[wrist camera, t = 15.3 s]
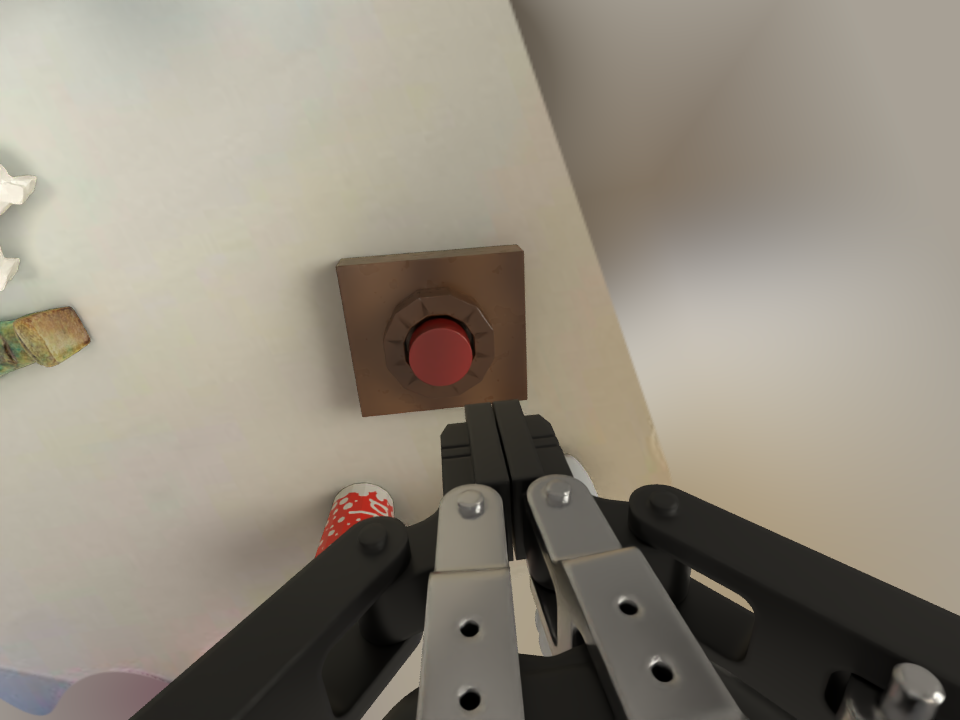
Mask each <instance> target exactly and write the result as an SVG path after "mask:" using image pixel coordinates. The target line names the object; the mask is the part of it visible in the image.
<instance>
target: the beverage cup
mask: <svg viewBox="0 0 960 720" xmlns="http://www.w3.org/2000/svg"><path fill="white" fill-rule="evenodd" d="M375 516H389V517H393V518H394V507H393V500H392V499H391V497H390V496H389V494H388V493H387V492H386V491H385V490H383V489H382V488H380V487H379V486H376V485H372V484H368V483H361V484H353V485H351V486H348V487H346V488H344V489H342V490H341V492H340V493H339V494H338V495H337V496H336V497H335V500H334V503H333V506H332V509H331V512H330V514H329V517H328V520H327V523H326V526H325V529H324V532H323V535H322V538H321V541H320V544H319V547H318V550H317V553H316V556H315V558H316V557H317V556H318V555H319V554H320V553H321V552H323V551H324V550H325V549H326V548H327V547H328V546H330V545H331V544H332V543H333V542H334V541H335V540H336V539H338V538H339V537H340V536H341V535H342V534H343V533H345V532H346V531H347V530H348V529H349V528H350V527H352V526H353V525H354V524H356V523H358V522H360V521H362V520H364V519H367V518H370V517H375Z"/></svg>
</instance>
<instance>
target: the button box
mask: <svg viewBox="0 0 960 720" xmlns="http://www.w3.org/2000/svg"><path fill="white" fill-rule="evenodd" d="M336 271H337V277H338V282H339V288H340V294H341V299H342V305H343V311H344V316H345V322H346V328H347V333H348V339H349V345H350V350H351V356H352V362H353V367H354V373H355V379H356V384H357V390H358V396H359V401H360V407H361V413H362V417H368V416H377V415H387V414H396V413H406V412H415V411H425V410H435V409H444V408H454V407H463V406H465V405H467V404H476V403H486V402H490V403H491V404H492V402H494V401H504V400H513V399H518V400H519V401H520V400H527V362H526V321H525V281H524V251H523V250H522V249H521V248H520V247H519V246H518V245H504V246H492V247H480V248H467V249H455V250H443V251H430V252H418V253H406V254H393V255H381V256H369V257H356V258H344V259H341V260H340V262H339V263H338V264H337V266H336ZM437 318H442V319H448V320H451V321H454V322H456V323H457V324H459V325H460V326H461V327H462V328H463V329H464V330H465V332H466V333H467V335H468V338H469V342H470V346H471V350H472V363H471V366H470V369H469V370H468V372H467V373H466V375H465V376H464V377H463V378H462V379H460V380H459V381H457V382H456V383H453V384H451V385H447V386H433V385H430V384H427V383H425V382H423V381H421V380H420V379H419V378H418V377H417V376H416V375H415V374H414V373H413V371H412V369H411V367H410V364H409V344H410V339H411V336H412V334H413V333H414V331H415V330H416V329H417V328H418V327H419V326H420V325H421V324H423V323H424V322H426V321H428V320H432V319H437Z"/></svg>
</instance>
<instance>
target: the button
mask: <svg viewBox="0 0 960 720" xmlns="http://www.w3.org/2000/svg"><path fill="white" fill-rule="evenodd" d="M471 363H472V350H471V346H470V342H469V338H468V335H467V333H466V332H465V330H464V329H463V328H462V327H461V326H460V325H459V324H457V323H456V322H454V321H451V320H448V319H442V318H437V319H432V320H428V321H426V322H424V323H423V324H421V325H420V326H419V327H418V328H417V329H416V330H415V331H414V333H413V334H412V336H411V339H410V344H409V364H410V367H411V369H412V371H413V373H414V374H415V375H416V376H417V377H418V378H419V379H420V380H421V381H423V382H425V383H427V384H430V385H433V386H447V385H451V384H453V383H456V382H457V381H459V380H460V379H462V378H463V377H464V376H465V375H466V373H467V372H468V370H469V369H470V366H471Z"/></svg>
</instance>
